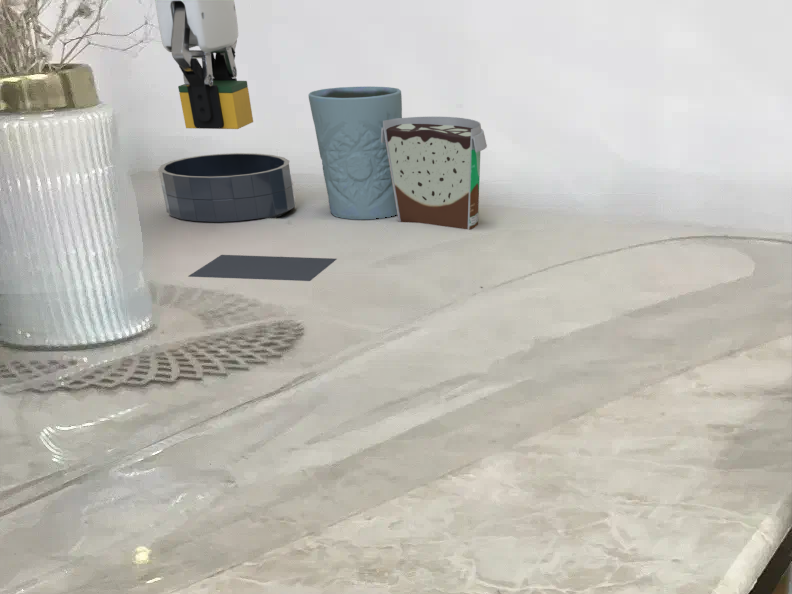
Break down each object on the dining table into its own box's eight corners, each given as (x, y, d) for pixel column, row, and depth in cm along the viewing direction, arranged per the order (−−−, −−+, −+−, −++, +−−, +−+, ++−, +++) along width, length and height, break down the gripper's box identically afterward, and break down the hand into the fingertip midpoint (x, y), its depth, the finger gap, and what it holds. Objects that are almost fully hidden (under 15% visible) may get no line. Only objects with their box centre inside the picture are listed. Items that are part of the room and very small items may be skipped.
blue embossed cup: (362, 225, 124) (349, 100, 117) (304, 212, 130) (288, 92, 122) (429, 209, 131) (420, 89, 123) (370, 197, 136) (359, 82, 129)
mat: (188, 281, 107) (187, 276, 106) (222, 259, 113) (221, 254, 113) (310, 286, 105) (310, 280, 105) (337, 263, 112) (337, 258, 111)
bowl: (147, 225, 125) (136, 175, 122) (199, 198, 136) (191, 152, 133) (269, 229, 123) (262, 178, 120) (312, 201, 134) (306, 154, 131)
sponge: (185, 128, 123) (177, 86, 121) (202, 121, 127) (195, 80, 124) (238, 129, 122) (231, 86, 120) (253, 122, 126) (247, 80, 123)
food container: (512, 224, 124) (508, 121, 118) (480, 236, 120) (475, 129, 114) (421, 212, 129) (413, 112, 123) (388, 223, 125) (378, 120, 119)
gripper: (183, -85, 120) (217, 110, 132) (108, -80, 107) (153, 137, 118) (250, -85, 119) (279, 111, 131) (183, -80, 106) (221, 138, 117)
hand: (219, 121), depth 124 cm, fingers closed on sponge, 4 cm apart
